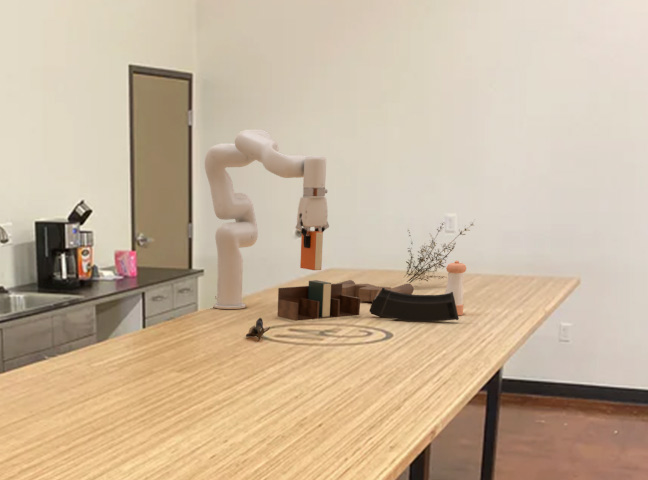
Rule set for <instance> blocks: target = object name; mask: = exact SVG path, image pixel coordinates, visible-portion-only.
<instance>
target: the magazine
mask: <svg viewBox="0 0 648 480" xmlns="http://www.w3.org/2000/svg"><path fill="white" fill-rule="evenodd" d="M369 313H370V314H371V315H374V316H376V317H379V318H380V319H381V318H383V319H392V320H394V321H401V322H402V321H403V322H412V323H413V322H414V323H431V322H433V323H434V322H444V321H455V320H456V321H459V319H460V318H459V315H458V313H457V309H456V304H455V299H454V296H453V292H451V293H448V294H445V293H443V294H413V293H412V294H404V293H398V292H394V291H391V290H386V289H385V288H382V290H381V292H380V290H379V291H378V293H377V295H376V297H375V299H374V300H373V302H371V305H370V307H369Z"/></svg>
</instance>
